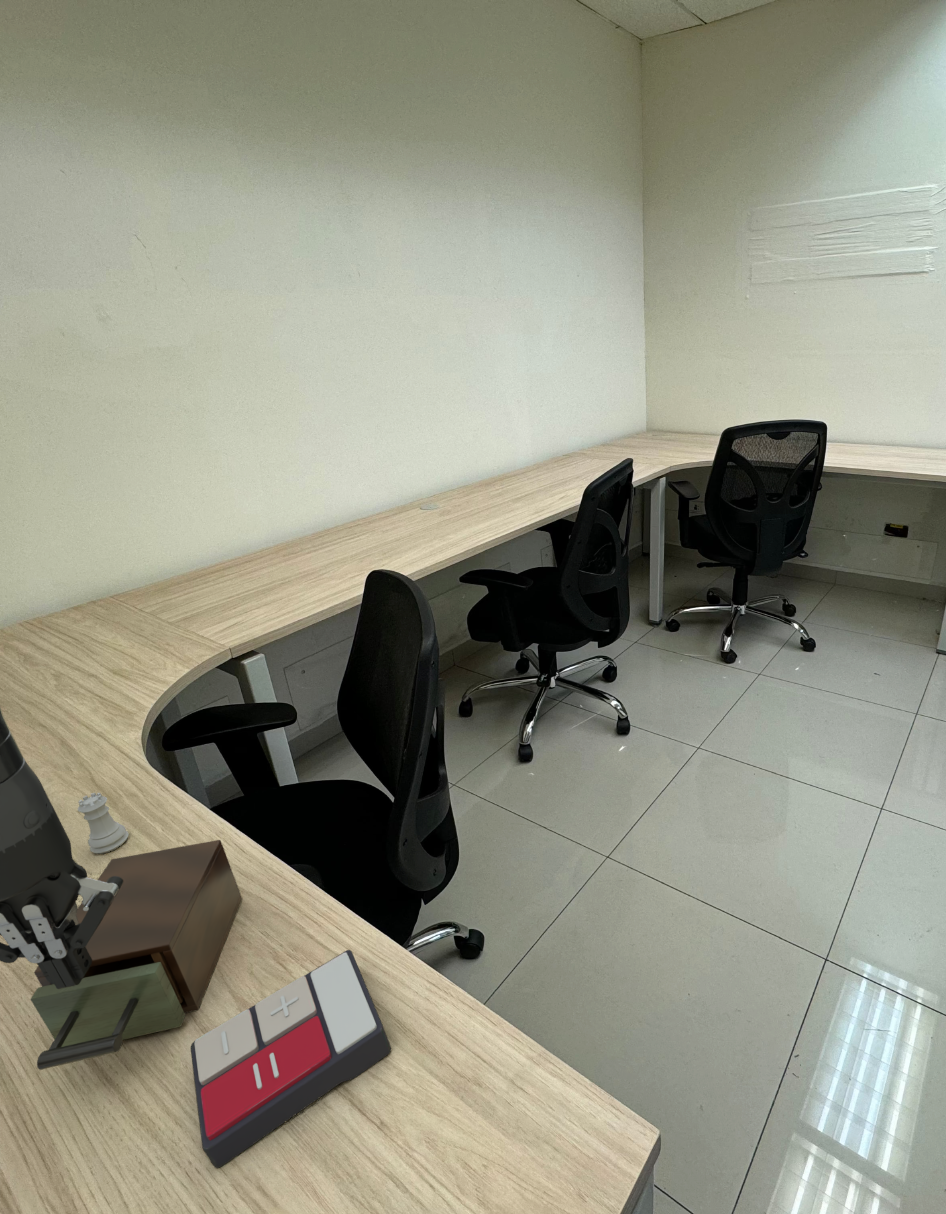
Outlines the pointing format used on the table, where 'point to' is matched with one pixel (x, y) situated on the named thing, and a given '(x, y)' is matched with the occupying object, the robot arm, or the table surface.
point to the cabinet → (169, 913)
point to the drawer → (108, 1008)
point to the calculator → (284, 1056)
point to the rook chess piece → (101, 825)
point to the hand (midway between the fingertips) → (74, 978)
